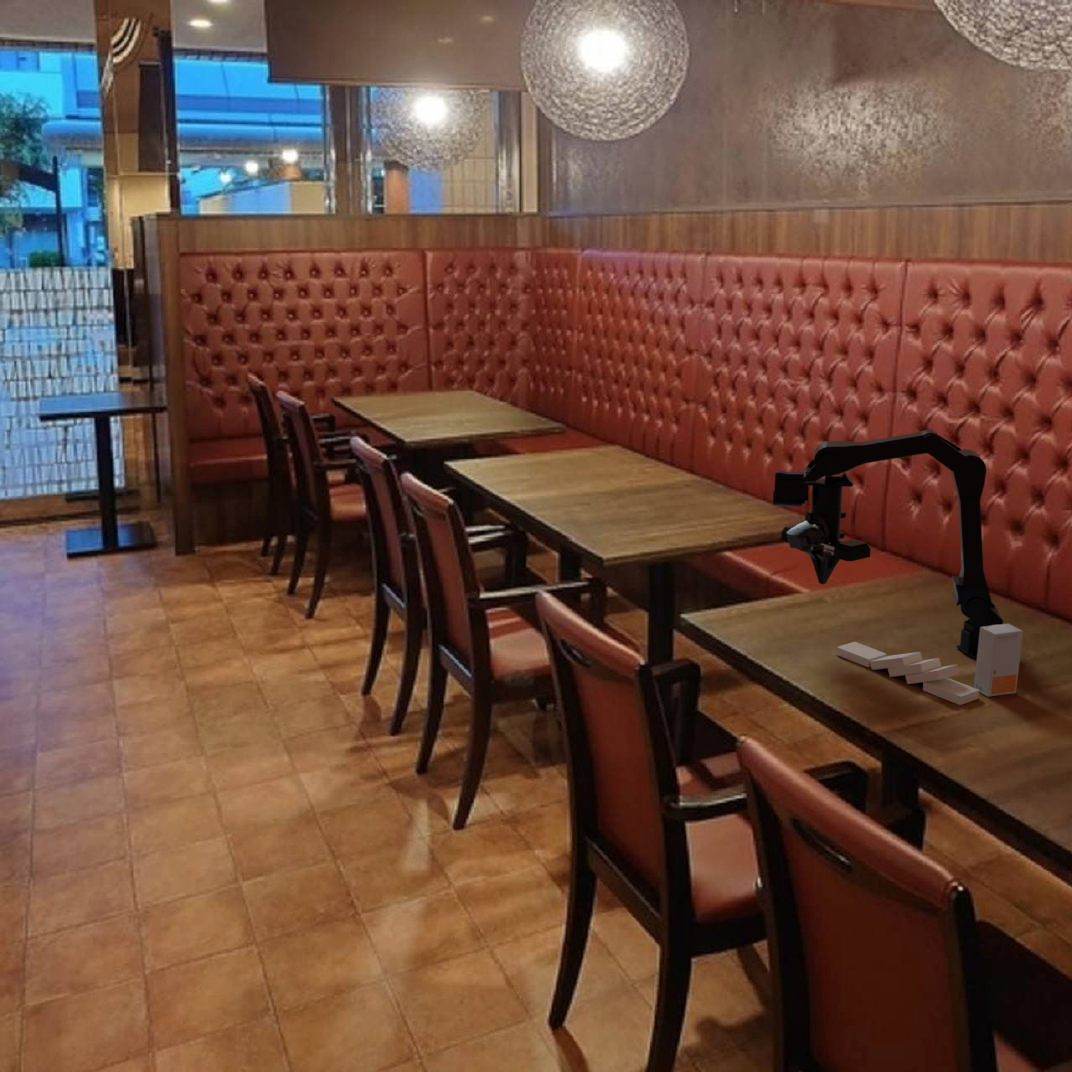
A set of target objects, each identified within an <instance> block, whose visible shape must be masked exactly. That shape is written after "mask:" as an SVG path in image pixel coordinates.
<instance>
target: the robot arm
mask: <svg viewBox="0 0 1072 1072" xmlns="http://www.w3.org/2000/svg"><path fill="white" fill-rule="evenodd" d="M924 454H926V455H927V454H928V455H929V456H931V457H933V459H934V460H936V461H937V462H939V463H941V464H942V465H943V466H944V467H946V469H949V471H950V475H951V478H952V482H953V486H954V490H955V493H956V496H957V497H956V498H957V504H958V509H957V510H958V523H959V524H958V525H959V526H958V527H959V547H960V571H959V576H956V575H955V576H954V575H952V576H951V581H952V584H953V591H952V594H951V595H952V597H953V600H954V603H955V605H956V606H958V607H959V609H960V611H961V613H962V615H964V616H965V617H966V618H968V619H967V620H963V628H962V629H961V632H960V633H961V634H960V644H958V645H956V649H957V650H959V651H960V652H962V653H964V654H966V655H968V656H970V657H972V658H973V659H974V660H975V659H976V660H977V653H978V643H979V634H980V627H985V626H991V625H1001V624H1004V620H1003V617H1002V616H1001V613H1000V612H999V610H998V608H997V606H996V604H995V603H993V601H992V598H991V593H990V590H989V586H988V582H987V578H986V575H985V572H984V556H983V554H984V553H983V533H982V529H983V528H982V512H981V510H982V509H981V501H982V495H983V491H984V489H985V483H986V476H987V467H986V463H985V461H984V459H982V457H981V456H980V455H979V453H977V452H976V451H974V450H972V449H969V448H968V449H966V448H964V449H963V448H961V447H960V446H957V445H956V443H955V444H954V443H953V442H951V441H950V440H948V439H946V438H944V437H943V436H941V435H940V434H939V433H938V432H937V431H936V430H933V429H925V430H922V431H918V432H913V433H912V432H911V433H907V434H902V435H901V434H900V435H895V436H889V437H883V438H877V439H872V440H871V439H870V440H865V441H849V440H825V441H823V442H820V443H819V444H818V445H817V446H816V447H815V449H814V452H813V458H812V459H811V460H810V462H809V463H808V464H807V465H806V466H805V467H804V469H803V470H802V471H803V472H801V471H798V472H797V471H785V470H776V471H775V472H774V484H773V494H772V506H776V507H777V506H778V507H800V508H801V507H802V506H803V505H805V504H806V502H807V503H808V502H809V488H810V487H809V486H811V503H810V504H811V507H810V510H808V511H806V514H804V515H805V516H804V521H803V522H799V523H797V524H792V525H787V526H785V527H783V529H782V531H781V534H780V535H781V537H780V540H781V542H784V543H787V544H789V548H790V549H796V550H799V551H800V552H804V553H806V554H807V555H808V556H809V557H810V560H811V562H812V564H813V568H814V571H815V574H816V578H817V581H818V583H819V584H820V585H826V584H827V582H828V580H829V579H830V576H831V575H832V573H833V571H834V570H835V568H836V566H837V565H838V564H839V562H840V561H841V560H842V561H844V562H855V561H859V560H864V559H867V558H870V557H871V546H870V545H869V544H868V542H866V541H862V540H858V539H855V538H852V539H848V540H844V541H842V539H845V536H846V533H845V532H843V531H841V525H842V524H841V523H842V519H845V518H846V515H847V512H846V511H842V507H843V505H842V504H843V489H844V488H843V487H849V488H850V487H851V488H852V487H853V486H854V483H853V479H851V478H850V477H849V476H848V474H847V473H846V472H848V471H850V470H852V469H855V468H856V467H860V466H861V465H864V464H869V463H871V464H872V463H874V462H875V463H877V462H882V461H887V460H889V461H890V460H893V459H894V460H895V459H900V458H907V457H911V456H918V455H924ZM823 478H824V479H823Z"/></svg>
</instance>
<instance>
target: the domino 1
mask: <svg viewBox="0 0 1072 1072" xmlns="http://www.w3.org/2000/svg"><path fill="white" fill-rule="evenodd" d="M835 651H836V652H835V653H836V654H835V655H836V656H839V657H842V658H844V659H846V660H848V661H851V662H854V663H856V664H858V665H861V666H864V667H865V668H866V667H867V668H870V667H871V664H870V661H873V660H877V659H880V658H883V657H886V656H888V654H887V653H886V652H882V651H880V650H877V649H875V648H873V647H870V646H868V645H865V644H862V643H860V642H856V641H852V642H848V643H845V644H842V645H839V646H836V650H835Z"/></svg>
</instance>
